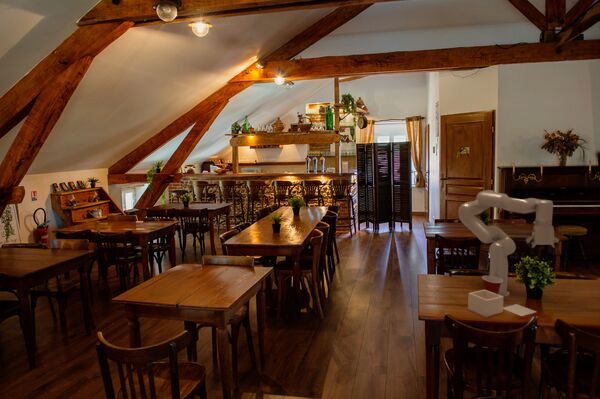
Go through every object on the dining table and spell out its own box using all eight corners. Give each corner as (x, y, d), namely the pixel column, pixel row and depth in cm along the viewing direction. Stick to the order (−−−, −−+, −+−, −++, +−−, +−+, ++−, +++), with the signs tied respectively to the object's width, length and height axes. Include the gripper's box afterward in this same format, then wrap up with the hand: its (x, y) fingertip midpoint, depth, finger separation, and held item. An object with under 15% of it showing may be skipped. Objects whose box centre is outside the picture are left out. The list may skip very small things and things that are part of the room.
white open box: (467, 309, 230) (468, 293, 228) (483, 305, 235) (484, 289, 234) (486, 317, 219) (487, 300, 218) (502, 313, 224) (503, 296, 223)
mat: (501, 309, 230) (501, 308, 229) (516, 304, 235) (516, 304, 235) (521, 317, 219) (521, 316, 219) (536, 312, 224) (536, 311, 224)
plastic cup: (501, 303, 237) (502, 282, 236) (480, 300, 242) (481, 279, 241) (502, 297, 247) (503, 276, 245) (482, 293, 252) (483, 274, 250)
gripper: (530, 224, 225) (528, 256, 228) (564, 224, 225) (561, 256, 227) (523, 221, 233) (521, 252, 235) (555, 221, 232) (553, 252, 235)
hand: (541, 254), depth 231 cm, fingers open, 9 cm apart
